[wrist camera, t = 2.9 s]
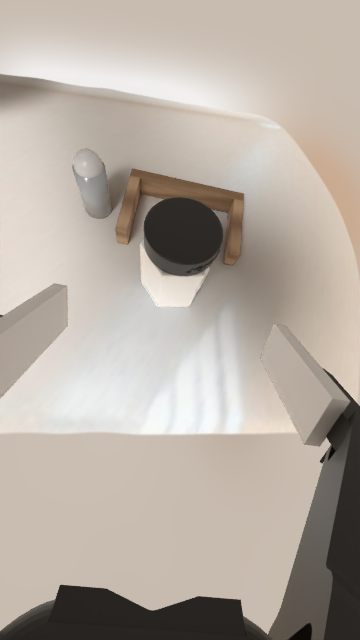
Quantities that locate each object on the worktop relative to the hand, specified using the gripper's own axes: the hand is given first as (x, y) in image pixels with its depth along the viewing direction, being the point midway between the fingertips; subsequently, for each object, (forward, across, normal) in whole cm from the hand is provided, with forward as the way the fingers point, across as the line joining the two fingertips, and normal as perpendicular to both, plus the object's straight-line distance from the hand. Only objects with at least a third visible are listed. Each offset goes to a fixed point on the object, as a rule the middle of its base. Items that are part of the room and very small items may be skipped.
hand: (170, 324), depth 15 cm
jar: (+21, 0, -4) cm, 21 cm away
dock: (+27, 0, +4) cm, 28 cm away
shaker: (+28, -13, +4) cm, 31 cm away
